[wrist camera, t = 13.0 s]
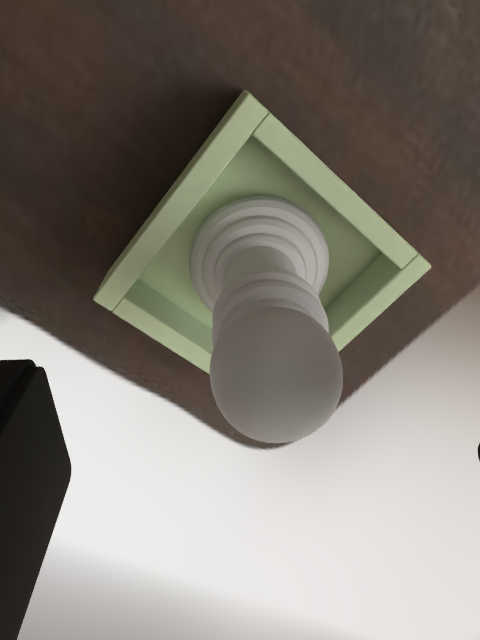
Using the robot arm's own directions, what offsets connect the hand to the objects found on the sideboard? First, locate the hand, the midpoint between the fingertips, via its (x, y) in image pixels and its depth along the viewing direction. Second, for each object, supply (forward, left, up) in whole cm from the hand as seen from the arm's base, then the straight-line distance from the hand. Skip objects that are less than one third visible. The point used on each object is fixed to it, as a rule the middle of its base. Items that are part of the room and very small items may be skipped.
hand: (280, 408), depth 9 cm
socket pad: (+1, 0, -10) cm, 10 cm away
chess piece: (0, 0, -10) cm, 10 cm away
